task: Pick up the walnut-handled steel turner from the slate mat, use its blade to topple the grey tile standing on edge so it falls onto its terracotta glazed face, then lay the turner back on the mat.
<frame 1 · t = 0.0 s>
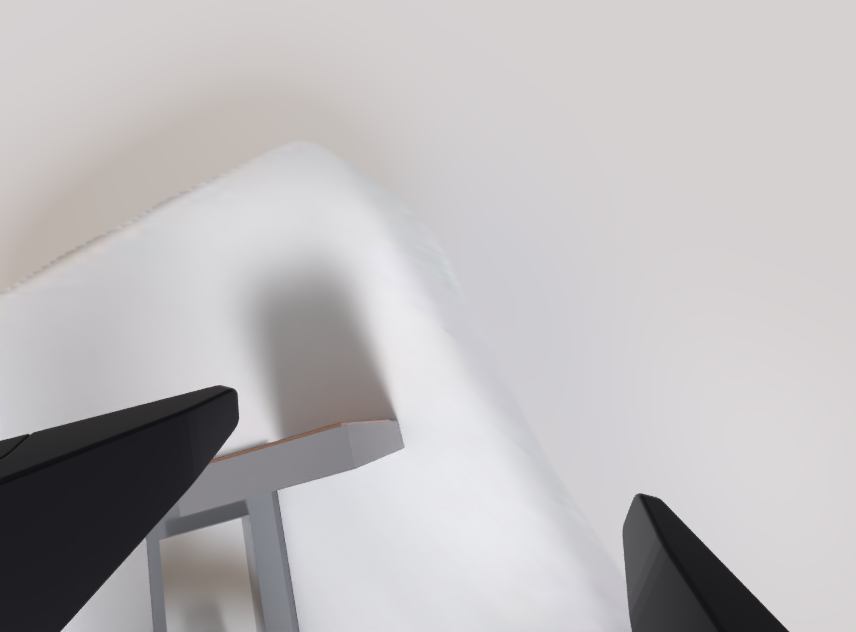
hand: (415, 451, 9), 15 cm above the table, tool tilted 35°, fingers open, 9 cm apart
tile: (344, 449, 24), on the table
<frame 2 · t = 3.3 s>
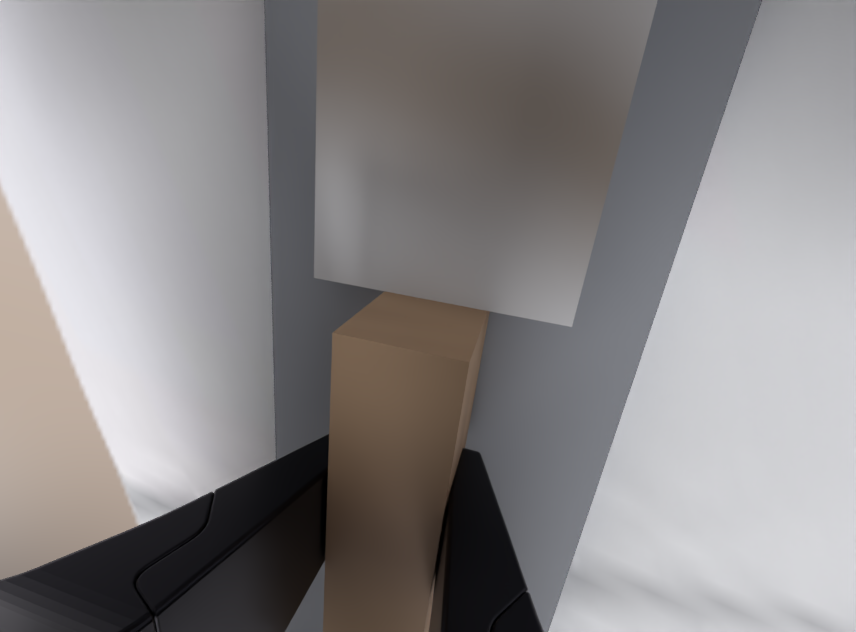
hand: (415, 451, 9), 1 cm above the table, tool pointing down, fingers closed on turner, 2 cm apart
turner: (432, 374, 9), point 1 cm above the table, touching gripper, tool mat
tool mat: (438, 362, 10), on the table
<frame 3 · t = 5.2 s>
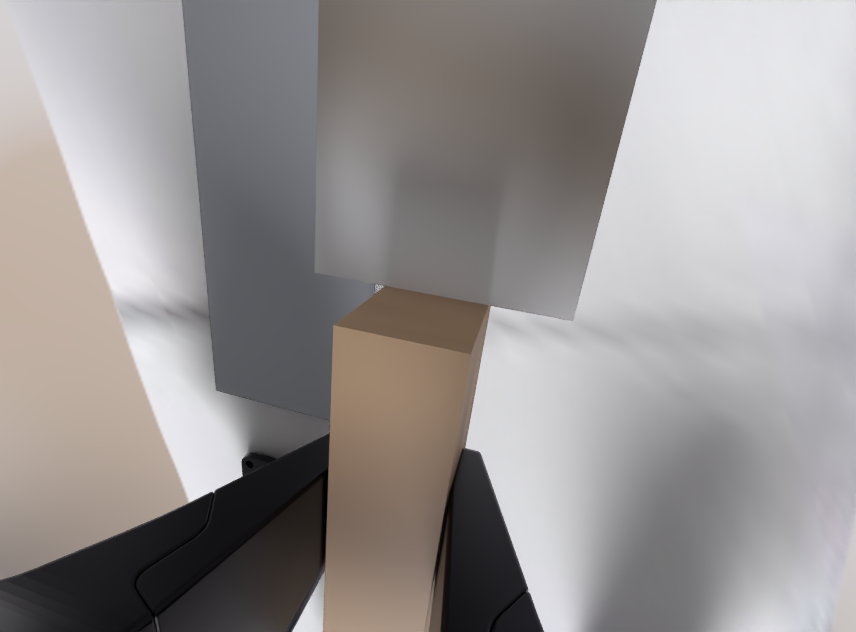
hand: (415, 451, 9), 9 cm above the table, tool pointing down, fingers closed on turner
turner: (433, 370, 9), point 8 cm above the table, touching gripper
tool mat: (290, 176, 17), on the table
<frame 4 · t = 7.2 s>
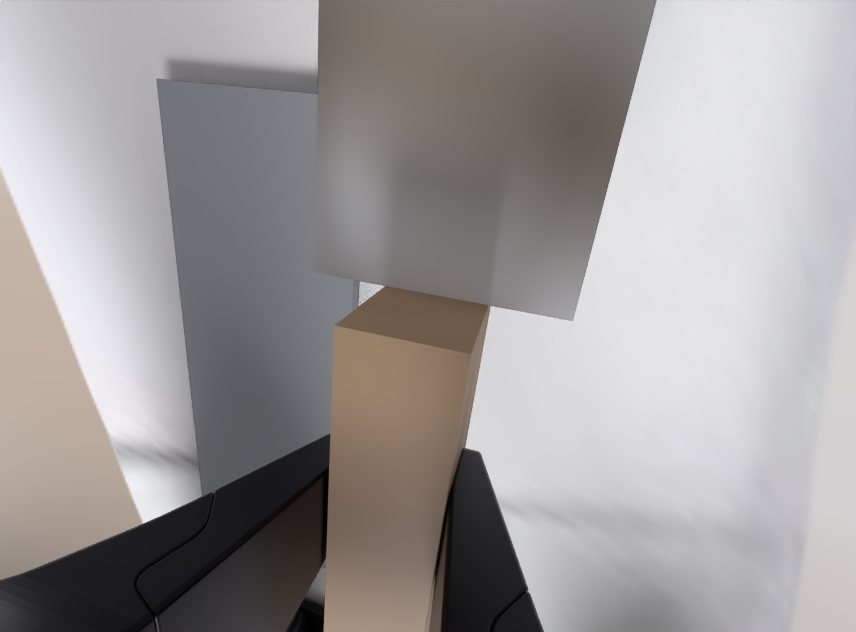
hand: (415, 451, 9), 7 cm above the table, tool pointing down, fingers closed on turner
turner: (433, 369, 9), point 7 cm above the table, touching gripper
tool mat: (271, 363, 19), on the table
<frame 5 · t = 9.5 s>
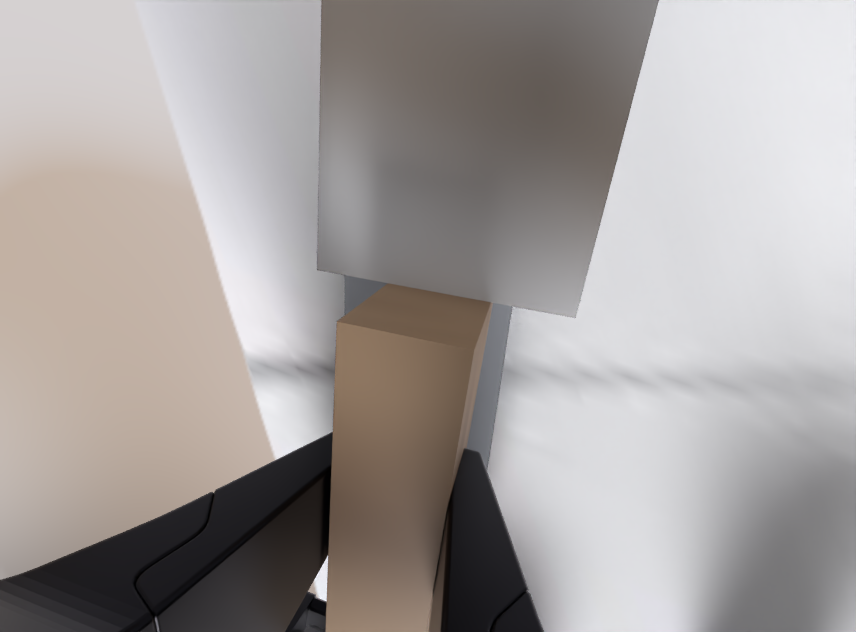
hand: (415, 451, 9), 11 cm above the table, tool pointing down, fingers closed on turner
turner: (435, 367, 9), point 10 cm above the table, touching gripper
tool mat: (430, 251, 19), on the table
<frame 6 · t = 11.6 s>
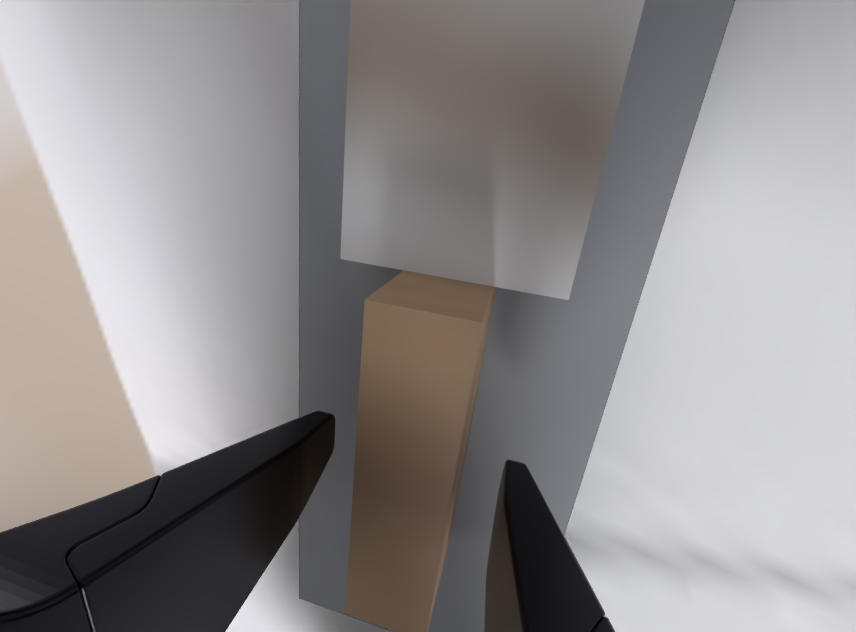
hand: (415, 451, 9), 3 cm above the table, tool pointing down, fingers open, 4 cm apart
turner: (444, 347, 10), point 1 cm above the table, touching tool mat
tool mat: (448, 343, 11), on the table
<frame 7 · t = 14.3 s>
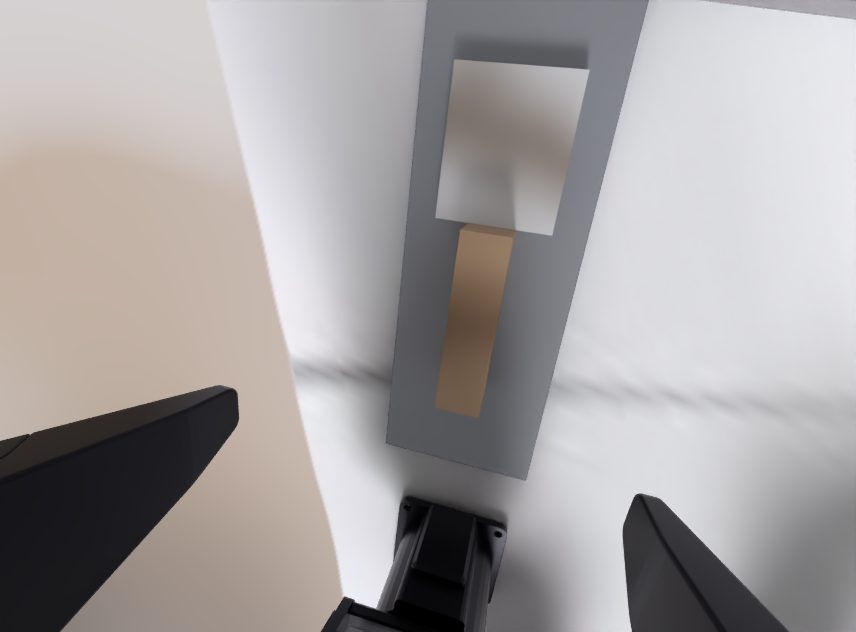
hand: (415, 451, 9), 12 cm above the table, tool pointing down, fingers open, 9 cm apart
turner: (486, 268, 19), point 1 cm above the table, touching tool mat
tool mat: (487, 267, 19), on the table
tile: (776, 3, 14), on the table, tilted 90°
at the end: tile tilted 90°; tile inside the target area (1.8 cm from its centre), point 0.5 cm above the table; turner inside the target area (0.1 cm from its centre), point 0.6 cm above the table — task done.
